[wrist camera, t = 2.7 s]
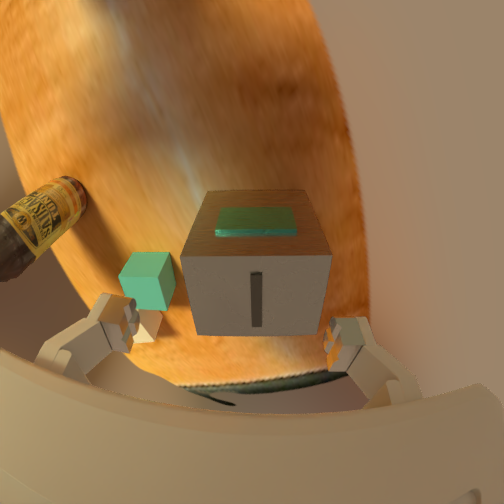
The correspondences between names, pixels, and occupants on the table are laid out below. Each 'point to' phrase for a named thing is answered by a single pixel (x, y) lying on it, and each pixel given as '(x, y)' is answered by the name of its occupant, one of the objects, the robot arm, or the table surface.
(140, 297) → the teal block
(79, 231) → the table surface
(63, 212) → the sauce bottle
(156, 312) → the cream block
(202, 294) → the dispenser
